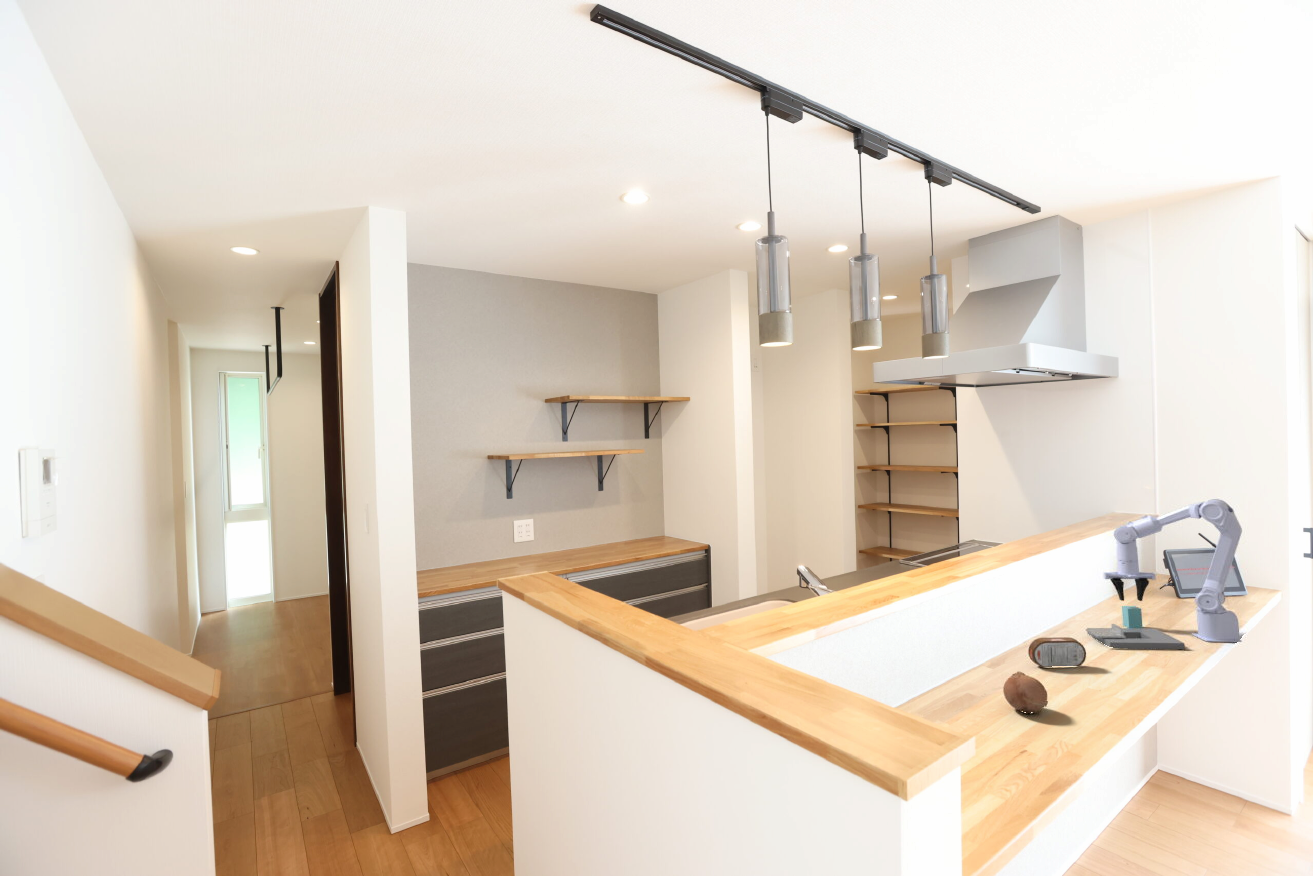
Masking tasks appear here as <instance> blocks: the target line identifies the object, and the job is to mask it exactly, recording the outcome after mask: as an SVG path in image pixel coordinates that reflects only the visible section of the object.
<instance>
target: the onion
mask: <svg viewBox="0 0 1313 876" xmlns="http://www.w3.org/2000/svg"><path fill="white" fill-rule="evenodd" d="M1003 695H1004V697H1005V700H1006V701H1007V702H1008V704H1009V705H1010V706H1011V707H1012V708H1013V709H1015V710H1017V711H1019V710H1020V711H1023V712H1026V714H1027V713H1031V712H1037V711H1040V712H1041V710H1042V709H1044V708H1047V707H1048V706H1047V705H1048V703H1049V701H1048V691H1047V690H1046V688H1045V685H1044V684H1042V683H1041V682H1040V681H1039V680H1038V679H1037V678H1034V677H1033V676H1029V675H1027V674H1025V673H1024V672H1021V671H1017V672H1015V673H1012V675H1011V676H1009V677H1008V678H1007V680H1006V681H1005V682H1004V684H1003ZM1020 711H1019V712H1020ZM1023 712H1022V713H1023ZM1037 713H1038V712H1037Z"/></svg>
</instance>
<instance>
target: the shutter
mask: <svg viewBox="0 0 1313 876" xmlns="http://www.w3.org/2000/svg"><path fill="white" fill-rule="evenodd" d="M1111 628H1112V629H1087V628H1086V629H1085V631H1086V633H1087V632H1089V633H1090V634H1092V635H1094V636H1095V637H1097V638H1126V637H1125V636H1124V631H1123V629H1122V628H1123V627H1121V626H1119V625H1117V624H1115V623H1111Z"/></svg>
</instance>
